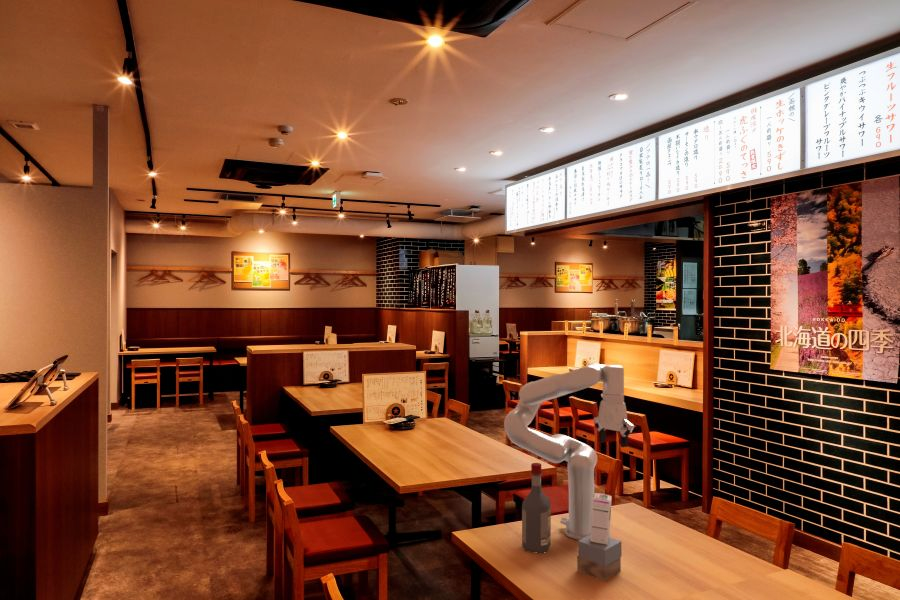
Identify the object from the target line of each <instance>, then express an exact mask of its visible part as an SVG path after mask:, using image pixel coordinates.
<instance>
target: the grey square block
mask: <svg viewBox="0 0 900 600" xmlns="http://www.w3.org/2000/svg"><path fill="white" fill-rule="evenodd" d="M577 541H578V542H577V545H578V546H577V549H578V550H577V556H579V557H582V558H584V559H587V560H590V561H593V562H595V563H598V564H601V565H603V566H606V565H608V564H610V563H611V562H613V561H615V560H617V559H618V558H620V557H622V540H619V539H616V538H612V537H610V536H609V542H608V545H605V544H600V543H595V542H592V541H590V535H589V536H587V537H585V538H583V539H581V540H577Z"/></svg>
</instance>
